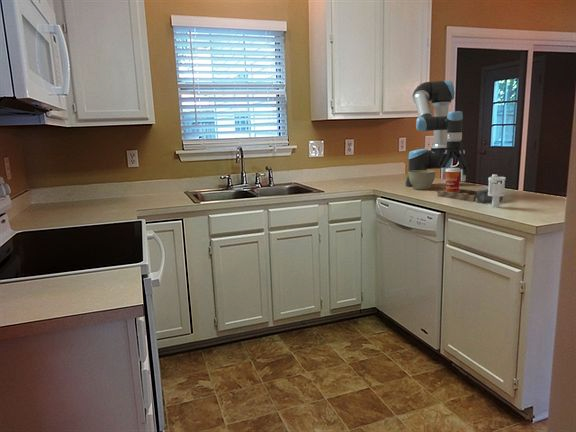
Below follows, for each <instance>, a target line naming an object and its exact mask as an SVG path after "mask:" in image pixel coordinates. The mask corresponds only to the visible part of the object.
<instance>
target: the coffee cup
mask: <svg viewBox="0 0 576 432" xmlns="http://www.w3.org/2000/svg"><path fill="white" fill-rule="evenodd" d="M461 169H462V168H460V167H449V168H446V170H445V171H446V179H445V191H446V192H453V193H458V192H459V189H460V182H461Z"/></svg>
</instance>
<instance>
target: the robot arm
mask: <svg viewBox="0 0 576 432" xmlns="http://www.w3.org/2000/svg"><path fill="white" fill-rule="evenodd" d="M453 83H454V82H452V81H451V80H436V81H426V82H423V83H420V84H418V86H416V87H415V89H414V90H413V93H412V100H413V101H412V102H413V103H414V104H415V108H416V112H417V115H418V116H417V118H416V122H415V123H416V124H415V127H416V128H415V129H416V130H417V132H418V131H419V132H428V131H433V145H432V146H431V147H430V150H429V149H428V148H420V149H419V148H418V149H414V150H411V151H409V152H408V158H407V159H408V167H407V168H408V171H413V170H436V169H437V170H439V169H440V174H441V175H440V176H441V177H440V180H446V171H445V170H446V168H451V166H452V163H453V159H455V160H456V161H457V162H458V164H459V165H460V167H461V168H460V169H461V172H460V182H466V181H467V179H466V177H467V175H468V173H467V172H468V169H469V168H471V164H470V161H469V159H468V156H467V150H466V149H462V143H463V142H462V140H463V117H464V116H463V112H462V111H461V110H457V111H456V110H455V111H449V110H450V109H449V107H450V105H451V104H452V101H453V100H454V99H455V87H454V84H453ZM430 102H431V105H432V106H433V113H432V109H431V105H430ZM408 171H407V172H408ZM405 186H406V187H411V188H413V186H412V184H411V183H410V180H409V174H407V177H406V181H405Z"/></svg>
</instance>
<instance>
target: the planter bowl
mask: <svg viewBox="0 0 576 432" xmlns="http://www.w3.org/2000/svg"><path fill="white" fill-rule="evenodd" d="M407 173H408V174H409V180H410V183H411V184H412V186H413V187H412V189H413V190H422V191H423V190H429V189H430V187H431V186H432V184H433V183H434V181H435V177H436V173H437V171H435V170H432V169H427V170H413V171H407ZM408 174H407V175H408Z"/></svg>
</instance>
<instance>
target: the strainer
mask: <svg viewBox="0 0 576 432" xmlns="http://www.w3.org/2000/svg"><path fill="white" fill-rule="evenodd" d="M505 184H506V177H505V176H498V174H492V175H491V176H489V177H488V188H487V189H488V196H492V202H491V208H494V207H498V208H500V201H499V198H500V196H503V197H504V196H505Z"/></svg>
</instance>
